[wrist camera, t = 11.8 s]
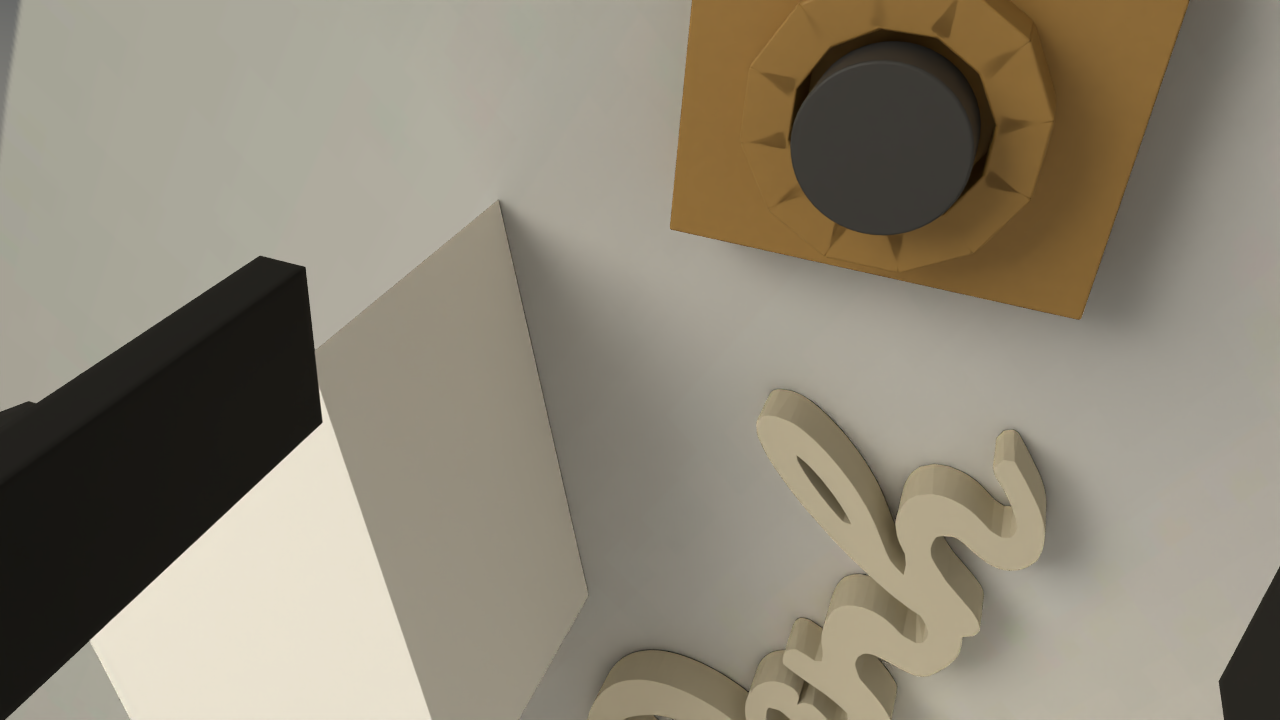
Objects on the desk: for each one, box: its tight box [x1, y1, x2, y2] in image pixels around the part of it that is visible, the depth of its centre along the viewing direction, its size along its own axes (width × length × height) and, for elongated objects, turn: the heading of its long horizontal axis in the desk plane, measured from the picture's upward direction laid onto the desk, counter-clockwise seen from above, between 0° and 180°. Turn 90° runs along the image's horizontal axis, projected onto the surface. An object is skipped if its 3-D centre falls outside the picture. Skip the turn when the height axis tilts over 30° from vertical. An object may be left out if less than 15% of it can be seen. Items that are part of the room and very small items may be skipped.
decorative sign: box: [587, 389, 1046, 720], centre depth 38 cm, size 23×2×10 cm
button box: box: [670, 0, 1190, 320], centre depth 26 cm, size 11×9×4 cm
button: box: [790, 41, 981, 235], centre depth 24 cm, size 4×4×2 cm
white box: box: [90, 200, 589, 720], centre depth 38 cm, size 14×29×10 cm, turn 163°
